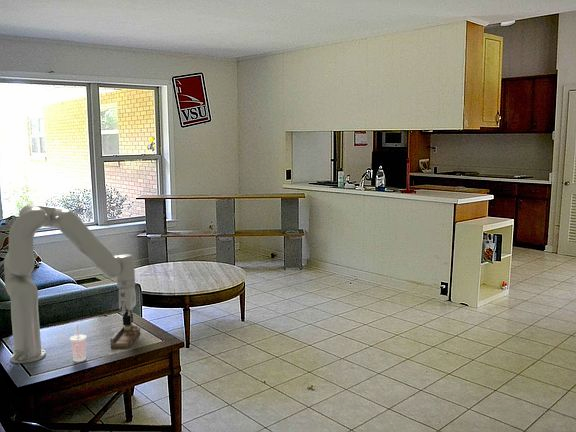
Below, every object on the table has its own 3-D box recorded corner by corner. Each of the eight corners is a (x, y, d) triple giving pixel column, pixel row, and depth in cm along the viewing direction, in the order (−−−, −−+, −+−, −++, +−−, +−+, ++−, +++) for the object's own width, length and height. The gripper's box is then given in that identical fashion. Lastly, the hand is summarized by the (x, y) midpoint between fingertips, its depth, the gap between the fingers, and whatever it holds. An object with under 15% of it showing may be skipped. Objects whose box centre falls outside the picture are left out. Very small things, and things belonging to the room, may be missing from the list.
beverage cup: (67, 360, 206) (65, 325, 204) (81, 354, 212) (78, 321, 210) (78, 363, 203) (75, 328, 201) (91, 358, 209) (89, 323, 206)
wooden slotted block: (127, 347, 218) (127, 338, 218) (110, 348, 218) (110, 338, 218) (139, 332, 236) (139, 323, 236) (124, 332, 236) (123, 323, 236)
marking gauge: (135, 331, 231) (134, 313, 230) (124, 331, 231) (123, 313, 230) (138, 328, 235) (137, 310, 234) (126, 328, 235) (125, 310, 234)
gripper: (129, 288, 222) (131, 330, 224) (139, 277, 238) (141, 317, 240) (111, 288, 222) (113, 330, 224) (123, 278, 238) (125, 317, 240)
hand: (128, 323), depth 232 cm, fingers closed on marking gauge, 2 cm apart
